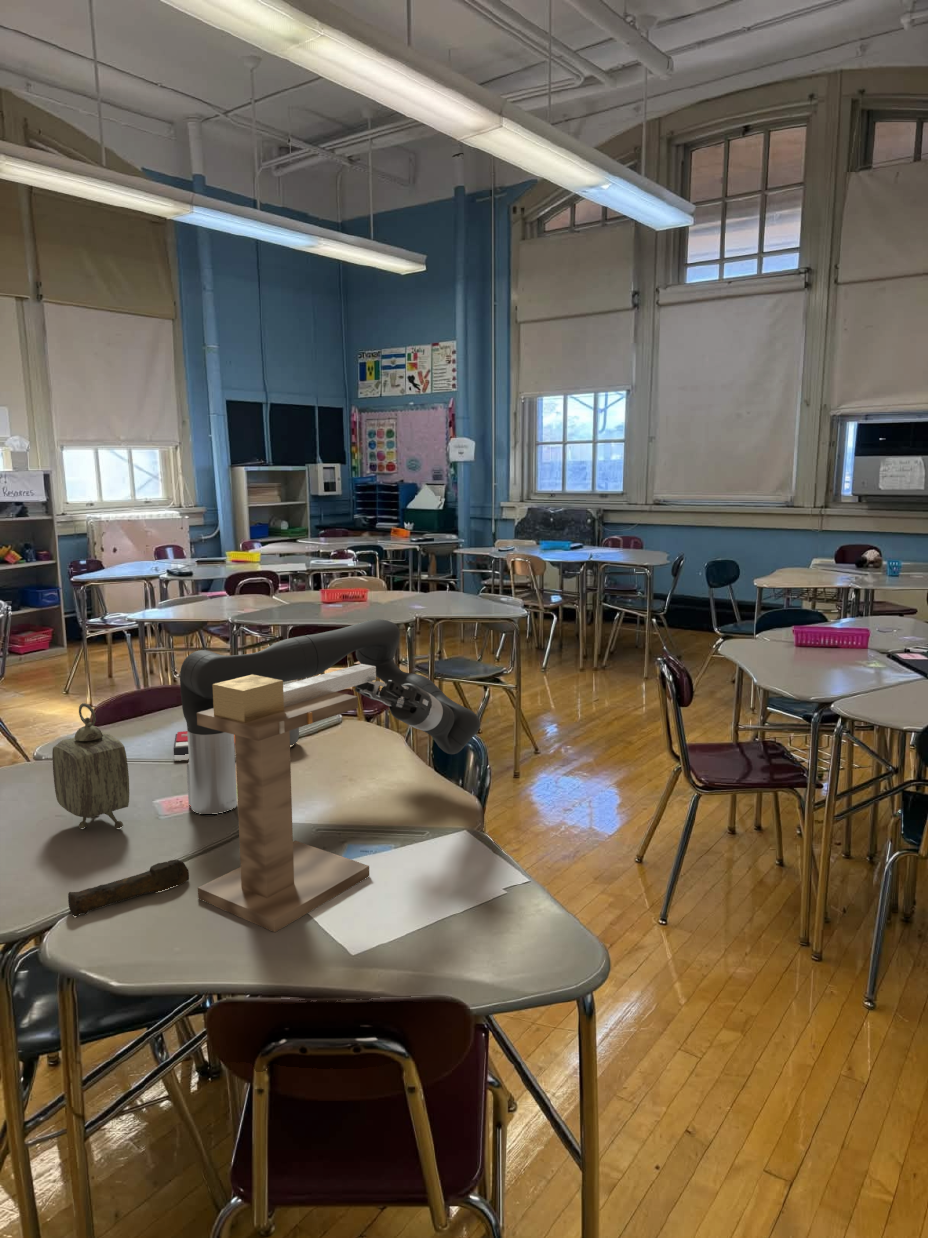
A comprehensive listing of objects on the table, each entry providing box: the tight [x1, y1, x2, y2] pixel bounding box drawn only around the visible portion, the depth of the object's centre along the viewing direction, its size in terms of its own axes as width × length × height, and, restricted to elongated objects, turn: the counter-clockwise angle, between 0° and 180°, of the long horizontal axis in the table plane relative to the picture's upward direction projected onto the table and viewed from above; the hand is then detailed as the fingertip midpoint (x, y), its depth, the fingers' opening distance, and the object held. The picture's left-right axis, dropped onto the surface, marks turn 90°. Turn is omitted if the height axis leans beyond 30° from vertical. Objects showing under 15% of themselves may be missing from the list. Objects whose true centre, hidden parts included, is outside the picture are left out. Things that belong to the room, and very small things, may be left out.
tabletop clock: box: [51, 702, 130, 829], centre depth 163 cm, size 14×9×25 cm, turn 47°
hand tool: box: [67, 859, 190, 917], centre depth 137 cm, size 19×4×5 cm, turn 126°
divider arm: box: [213, 663, 377, 723], centre depth 140 cm, size 7×32×5 cm, turn 146°
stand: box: [197, 691, 370, 933], centre depth 138 cm, size 18×22×32 cm
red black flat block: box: [172, 730, 189, 756], centre depth 212 cm, size 11×4×15 cm
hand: (370, 681), depth 154 cm, fingers open, 8 cm apart
